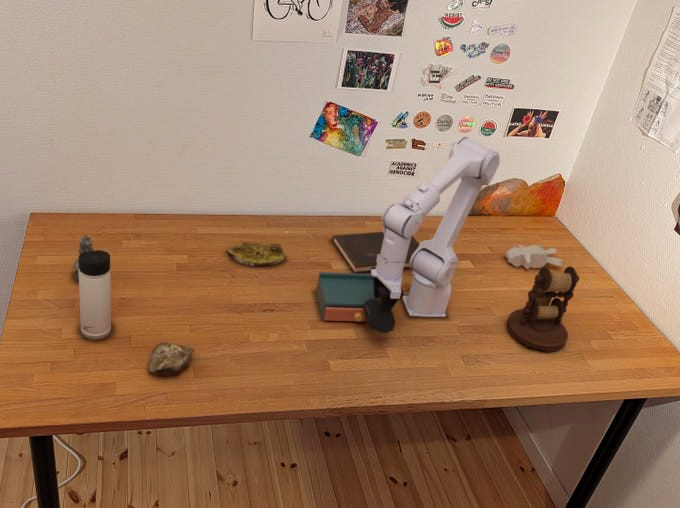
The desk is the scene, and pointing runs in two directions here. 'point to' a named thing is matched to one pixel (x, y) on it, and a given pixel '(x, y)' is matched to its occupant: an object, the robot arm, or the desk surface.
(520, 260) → the bunny figurine
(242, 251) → the mossy rock
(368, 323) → the gaming mouse
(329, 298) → the teal drawer box
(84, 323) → the travel mug
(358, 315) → the drawer
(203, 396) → the desk surface
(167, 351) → the rock
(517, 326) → the brown round-based upright piece
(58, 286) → the desk surface
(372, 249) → the hardcover book
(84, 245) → the grey stone figurine
